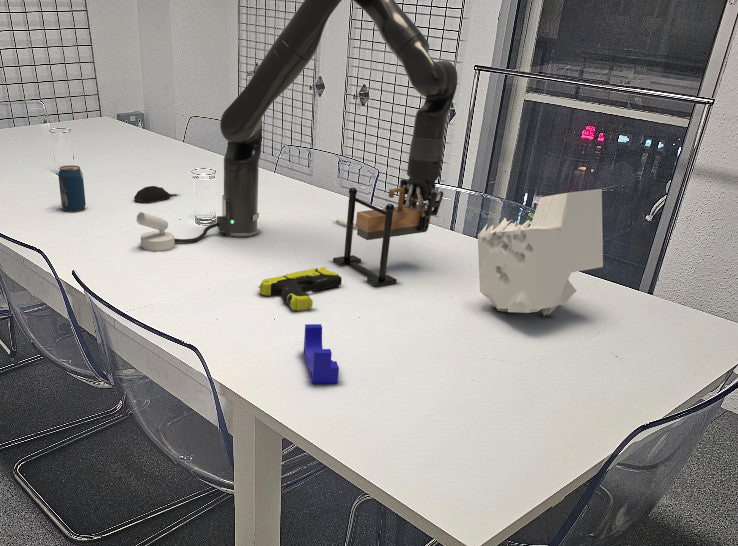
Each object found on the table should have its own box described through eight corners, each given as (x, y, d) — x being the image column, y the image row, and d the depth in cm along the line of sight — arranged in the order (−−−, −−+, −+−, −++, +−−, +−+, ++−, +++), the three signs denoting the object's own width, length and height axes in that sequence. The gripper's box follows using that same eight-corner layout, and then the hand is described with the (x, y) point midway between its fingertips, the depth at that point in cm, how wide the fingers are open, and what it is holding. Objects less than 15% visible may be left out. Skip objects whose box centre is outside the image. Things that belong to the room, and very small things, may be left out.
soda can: (89, 206, 223) (85, 165, 217) (82, 213, 217) (77, 171, 211) (66, 205, 224) (62, 164, 218) (58, 211, 218) (54, 169, 212)
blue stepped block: (337, 383, 132) (340, 352, 129) (312, 383, 131) (314, 353, 128) (326, 352, 142) (329, 324, 139) (303, 353, 142) (305, 324, 139)
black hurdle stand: (375, 287, 172) (383, 207, 163) (332, 261, 187) (338, 186, 177) (396, 283, 175) (406, 204, 165) (353, 258, 189) (359, 184, 179)
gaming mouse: (181, 197, 235) (181, 184, 233) (141, 204, 227) (140, 191, 225) (171, 193, 239) (170, 180, 237) (130, 199, 231) (129, 186, 229)
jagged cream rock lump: (533, 326, 148) (528, 197, 143) (477, 323, 162) (470, 205, 157) (604, 311, 157) (602, 188, 151) (545, 309, 171) (541, 197, 165)
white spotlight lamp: (127, 209, 188) (158, 202, 194) (130, 246, 193) (159, 238, 199) (149, 216, 183) (180, 209, 189) (151, 254, 188) (181, 245, 194)
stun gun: (364, 285, 165) (323, 265, 176) (293, 301, 156) (254, 278, 167) (362, 298, 167) (322, 277, 177) (292, 314, 157) (254, 291, 168)
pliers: (364, 213, 219) (395, 227, 208) (364, 218, 220) (394, 232, 209) (336, 216, 215) (366, 231, 204) (335, 222, 216) (365, 237, 204)
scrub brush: (366, 240, 174) (371, 195, 168) (354, 234, 177) (359, 189, 172) (428, 232, 181) (434, 188, 175) (415, 226, 185) (421, 183, 179)
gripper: (394, 150, 177) (386, 221, 186) (431, 163, 166) (421, 238, 175) (419, 148, 180) (410, 218, 189) (458, 161, 169) (446, 234, 178)
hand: (415, 227), depth 182 cm, fingers closed on scrub brush, 5 cm apart
